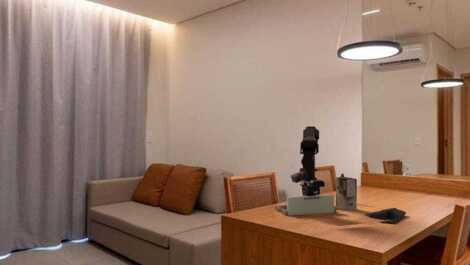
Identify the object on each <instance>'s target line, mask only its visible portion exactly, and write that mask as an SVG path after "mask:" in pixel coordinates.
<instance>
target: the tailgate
mask: <svg viewBox="0 0 470 265" xmlns="http://www.w3.org/2000/svg"><path fill="white" fill-rule="evenodd" d="M334 200H335V195H334V194H324V195H321V194H319V195H316V196H305V195H302V196H301V195H300V196H299V195H298V196H287V197H286V205H287V211H288V216H298V215H299V216H301V215H312V214H313V215H315V214H327V213H329V214H330V213H335V212H334V207H335V202H334Z"/></svg>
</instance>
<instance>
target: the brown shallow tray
mask: <svg viewBox="0 0 470 265" xmlns="http://www.w3.org/2000/svg"><path fill="white" fill-rule="evenodd" d="M274 211H277V213H280V214H282V215H283V216H289V215H288V211H287V204H286V205H285V204H283V205H282V204H281V205H274ZM333 213H337V207H336V206H334V212H333Z"/></svg>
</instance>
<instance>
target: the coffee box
mask: <svg viewBox="0 0 470 265" xmlns="http://www.w3.org/2000/svg"><path fill="white" fill-rule="evenodd" d="M357 181H358V179H357V178H353V177H348V176H344V177H340V176H336V177H335V200H336V202H335V207H336V208H339V209H343V210H346V211H348V210H357V205H358V204H357V203H358V202H357V199H358V197H357V196H358V194H357V192H358V191H357V190H358V187H357V186H358V184H357V183H358V182H357Z"/></svg>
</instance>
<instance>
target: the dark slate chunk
mask: <svg viewBox="0 0 470 265" xmlns="http://www.w3.org/2000/svg"><path fill="white" fill-rule="evenodd" d="M406 215H407V212H406V211H404V210H401V209H398V208H396V207H392V208H386V209H380V210H379V211H378V210H377V211H373V212H370V213H365V214H364V216H367V217H368V218H369V219H373V220H374V219H375V220H381V221H379V223H381V224H388V225H389V224H390V225H395V224H396V223H398V222H400V221H401V219H403V217H405V216H406Z"/></svg>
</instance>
